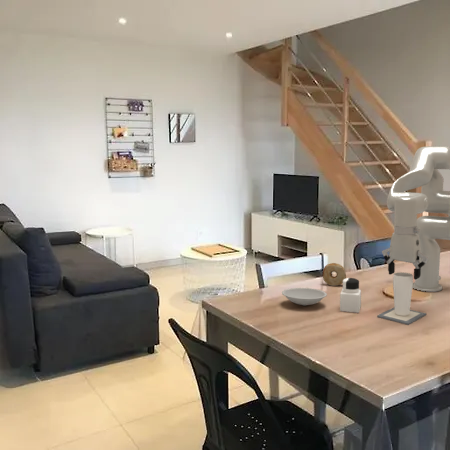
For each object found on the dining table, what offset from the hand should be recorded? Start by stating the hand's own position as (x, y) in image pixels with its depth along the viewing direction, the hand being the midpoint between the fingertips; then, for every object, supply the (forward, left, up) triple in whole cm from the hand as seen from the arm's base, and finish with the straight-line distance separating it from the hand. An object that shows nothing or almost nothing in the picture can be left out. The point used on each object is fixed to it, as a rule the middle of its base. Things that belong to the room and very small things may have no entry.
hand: (403, 276), depth 188 cm
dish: (+15, -34, -15) cm, 40 cm away
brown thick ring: (-16, -41, -15) cm, 46 cm away
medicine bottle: (+7, -18, -15) cm, 24 cm away
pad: (+1, 0, -15) cm, 15 cm away
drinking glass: (+1, 0, -15) cm, 15 cm away
